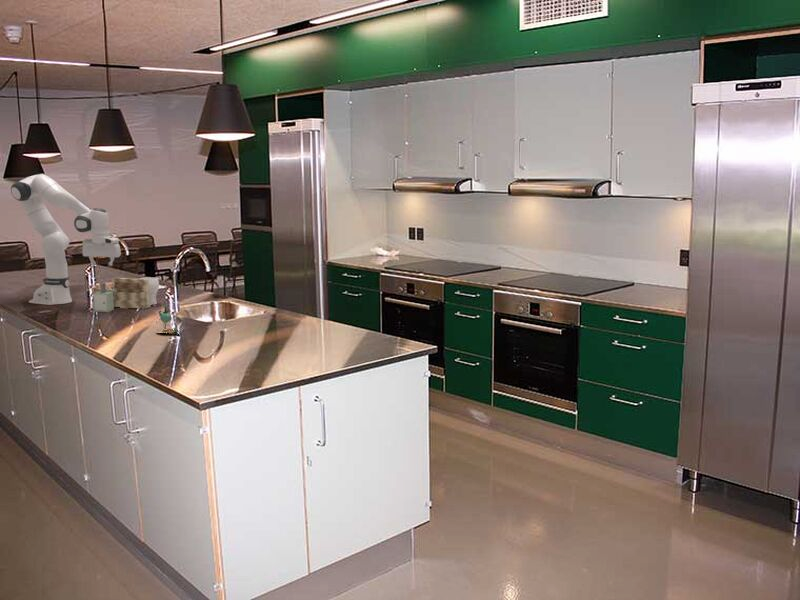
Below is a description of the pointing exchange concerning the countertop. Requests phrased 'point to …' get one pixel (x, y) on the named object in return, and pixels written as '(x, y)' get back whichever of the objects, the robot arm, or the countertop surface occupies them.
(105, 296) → the white square bottle
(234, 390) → the countertop surface
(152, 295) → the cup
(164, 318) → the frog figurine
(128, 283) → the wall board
